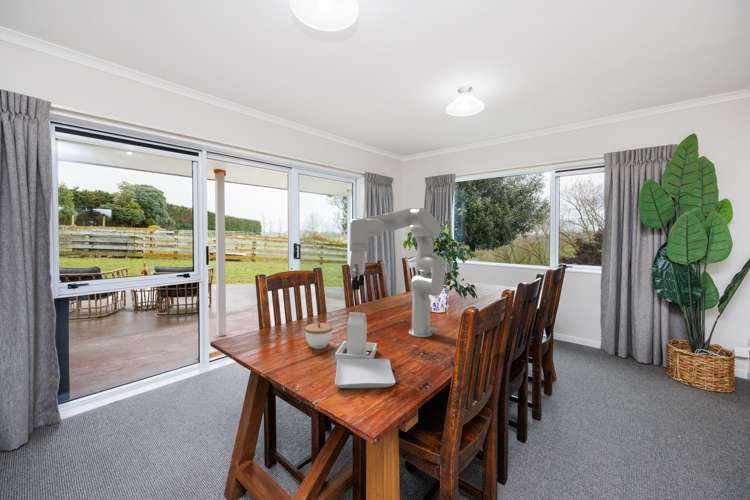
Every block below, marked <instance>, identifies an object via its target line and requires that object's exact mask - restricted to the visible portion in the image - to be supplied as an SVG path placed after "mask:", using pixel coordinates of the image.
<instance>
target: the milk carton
mask: <svg viewBox="0 0 750 500" xmlns="http://www.w3.org/2000/svg"><path fill="white" fill-rule="evenodd" d="M346 324H347V325H346V341H347V349H346V354H354V355H365V354H366V352H367V351H366V343H368V341H367V340H368V339H367V337H368V336H367V335H368V334H367V332H368V330H367V329H368V320H367V316H366V312H352V311H349V313H348V318H347V323H346Z"/></svg>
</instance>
